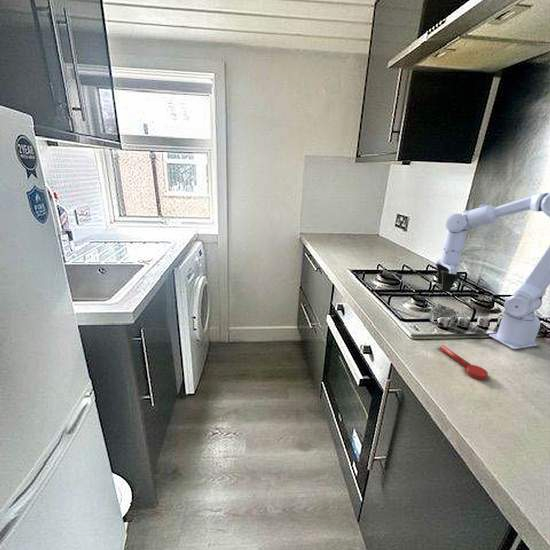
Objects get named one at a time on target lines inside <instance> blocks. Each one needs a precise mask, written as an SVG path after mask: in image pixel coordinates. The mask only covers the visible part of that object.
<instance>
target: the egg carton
mask: <svg viewBox="0 0 550 550" xmlns="http://www.w3.org/2000/svg"><path fill="white" fill-rule="evenodd" d="M437 310H438V314H436V312H437ZM459 314H460V311H459V310H454V308H451V307H449V306H446V305H443V304H442V303H437V304H436V305H435V306H434V307H433V308H431V309H430V310H429V321H430V322H431V323H433V324H439V323H438V321H434V320H437V318H440V317H449V319H450V324H449V325H448V326H443V328H452V326H453V325H454V323H455V321H457V318H458V316H459ZM451 324H452V325H451Z"/></svg>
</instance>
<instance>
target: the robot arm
mask: <svg viewBox="0 0 550 550" xmlns="http://www.w3.org/2000/svg"><path fill="white" fill-rule="evenodd" d="M527 211H533V212H543V213H544V215H546V216H548V218H550V192H545V193H544V192H543V193H539V194H535V195H534V194H533V195H530V196H527V197H523V198H520V199H517V200H514V201H511V202H508V203H504V204H501V205H497V206H493V205H491V204H485V203H484V204H479V205H478V207H476V208H473V209H470V210H468V209H465V210H463V211H462V212H461V213H453V214H451V215H449V216H448V217H447V218H446V220H445V228H446V229H447V230H446V233H445V238H444V243H443V246H442V249H441V250H442V251H441V255H440V258H439V259H438V260H437V259H436V260H435V266H436V270H437V284H438V285H441V291H442V292H445V293H450V291H451V289H452V288H453V286H454V285H455V283H456V282H457V280H458V279H459V278H460V277H461V273H459V272H458V270H459V269H458V268H459V267H460V262H461V258H462V257H461V256H462V253H463V250H464V246H465V241H466V238H467V234H468V231H470V229H471V230H472V229H477V228H480V227H483V226H488V225H492V224H494V223H496V222H497V220H498V219H499V218H501V217H506V216H510V215H514V214H519V213H522V212H527ZM549 286H550V245H549V246H548V247H547V249H546V250H545V252H544V253H543V254H542V256H541V258H540V259H539V260H538V262H537V264H536V265H535V266H534V268H533V269H532V271H531V272H530V274H529V275H528V277H527V278H526V280H525V281H524V282H523V283H522V285H520V287H518V288H517V289H516V291H515V293H513V294H512V295H511V296H508V297H507V298H506V299H505V300H504V302H503V309H504V311H503V314H502V317H501V320H500V323H499V326H498V329H497V332H496V333H489V334H488V337H491V338H492V339H494V340H496V341H498V342H499V343H501V344H503V345H504V346H506V347H508V348H510V349H511V350H519V349H525V348H533V347H537V346H538V344H537V343H535V342H536V339H537V336H538V333H539V330H540V328H541V321H540V318H539V317H538V316H537V315H536V313H535V311H537V310H539V309H540V308H541V307H542V305H543V298H544V296H545V294H546V293H547V292H546V291H547V289H548V288H549Z"/></svg>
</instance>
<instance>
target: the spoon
mask: <svg viewBox="0 0 550 550" xmlns="http://www.w3.org/2000/svg"><path fill="white" fill-rule="evenodd" d="M439 350H441V351H442V352H443V353H444V354H446V355H447V356H449V357H450V358H452V360H454V361H456V362H457V363H459V364H460V365H461V366H463V367H464V368H465V372H466V374H467V375H468V376H469V377H471V378H473V379H475V380H478V381H479V380H480V381H486V380H487V378H488V376H489V373H488V371H487V370H486V369H484V368H483V367H481V366H478V365H475V364H471V363H470V362H468V361H467V360H465V359H464V358H462V357H461V356H460V355H458V354H456V352H453V351H452V350H451V349H450V348H448V347H446V346H445V345H443V344H441V345H439Z"/></svg>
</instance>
